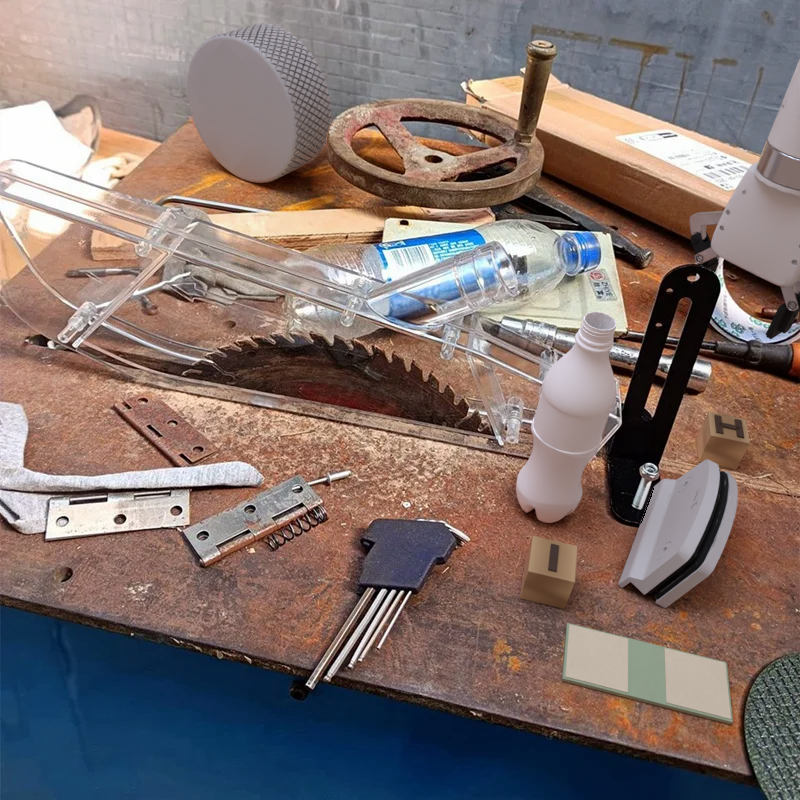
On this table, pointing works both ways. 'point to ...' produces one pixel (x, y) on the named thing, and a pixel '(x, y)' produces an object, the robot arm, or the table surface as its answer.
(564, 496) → the water bottle
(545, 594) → the tile
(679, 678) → the word board
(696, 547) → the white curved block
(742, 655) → the table surface
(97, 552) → the table surface
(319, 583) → the table surface
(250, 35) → the knob
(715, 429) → the tile
